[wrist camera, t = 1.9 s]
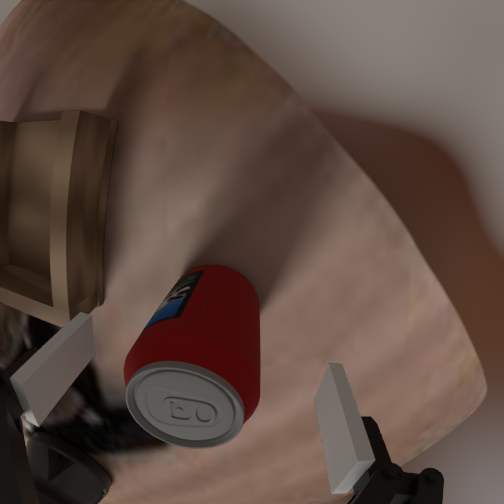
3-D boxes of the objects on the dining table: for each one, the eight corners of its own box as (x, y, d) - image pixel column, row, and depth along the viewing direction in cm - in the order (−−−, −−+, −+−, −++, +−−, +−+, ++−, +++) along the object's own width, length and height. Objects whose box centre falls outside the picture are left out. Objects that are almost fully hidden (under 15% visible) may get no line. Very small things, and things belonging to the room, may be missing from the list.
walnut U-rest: (103, 303, 23) (73, 331, 18) (6, 272, 23) (-26, 289, 18) (118, 121, 19) (83, 110, 14) (11, 124, 19) (-26, 121, 14)
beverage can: (174, 256, 22) (99, 337, 10) (264, 265, 22) (271, 363, 10) (173, 333, 24) (123, 441, 12) (254, 343, 24) (252, 463, 12)
